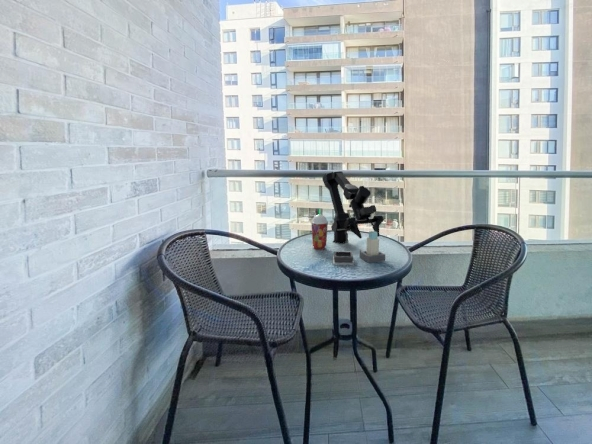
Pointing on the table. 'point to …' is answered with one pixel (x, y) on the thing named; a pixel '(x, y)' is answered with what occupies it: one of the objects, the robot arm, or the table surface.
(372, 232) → the cream bottle
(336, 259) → the port
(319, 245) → the smoothie
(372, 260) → the grey square tray
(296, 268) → the table surface
